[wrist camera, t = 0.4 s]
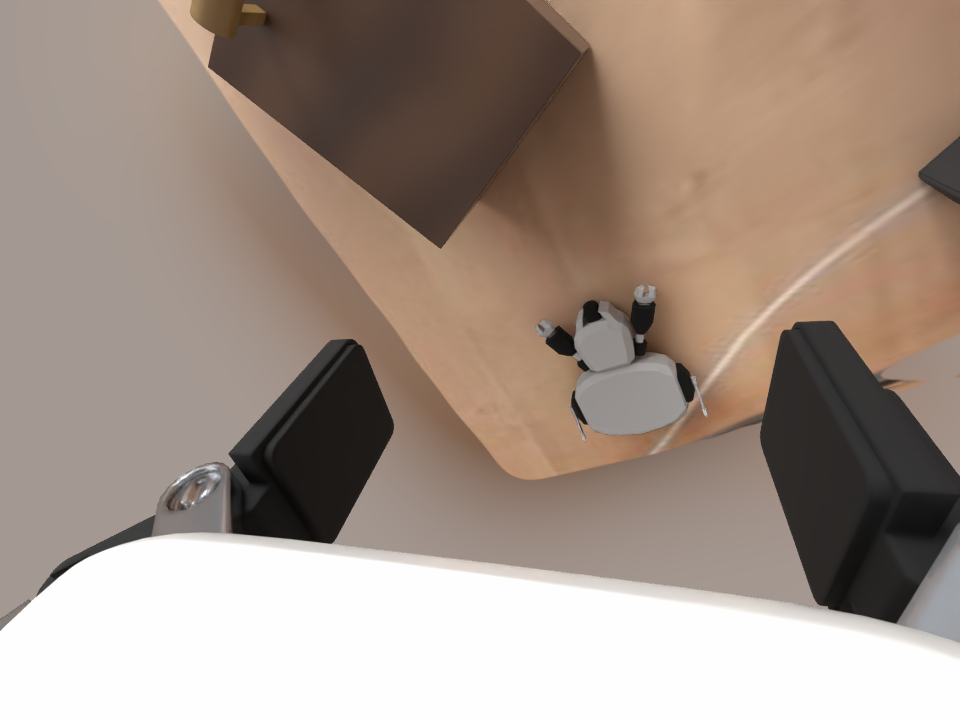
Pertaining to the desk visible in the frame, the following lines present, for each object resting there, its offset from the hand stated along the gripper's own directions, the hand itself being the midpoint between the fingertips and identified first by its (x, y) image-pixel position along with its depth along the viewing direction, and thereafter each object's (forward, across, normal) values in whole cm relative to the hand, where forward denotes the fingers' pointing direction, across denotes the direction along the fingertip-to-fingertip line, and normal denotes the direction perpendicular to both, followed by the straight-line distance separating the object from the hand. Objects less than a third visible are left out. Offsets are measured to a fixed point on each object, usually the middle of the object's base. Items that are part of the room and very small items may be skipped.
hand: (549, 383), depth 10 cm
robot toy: (+31, -1, +20) cm, 37 cm away
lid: (+20, +11, -7) cm, 24 cm away
